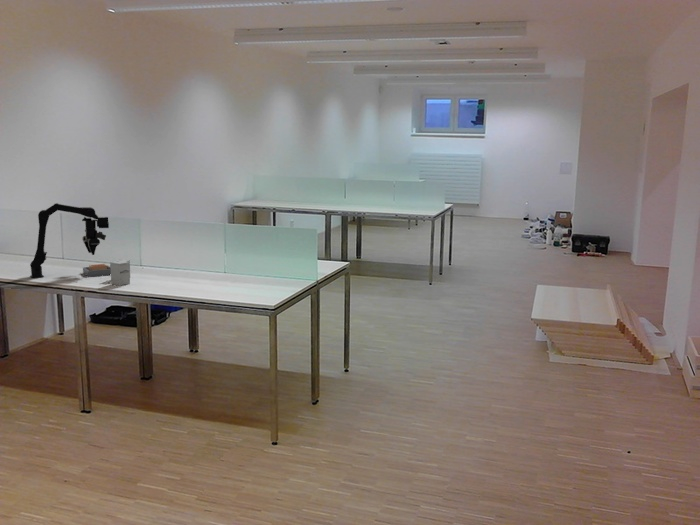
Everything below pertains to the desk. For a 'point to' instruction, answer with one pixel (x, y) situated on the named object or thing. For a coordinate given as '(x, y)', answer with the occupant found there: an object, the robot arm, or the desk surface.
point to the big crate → (96, 272)
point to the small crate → (97, 267)
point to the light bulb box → (122, 260)
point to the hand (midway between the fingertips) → (91, 253)
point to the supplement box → (120, 273)
